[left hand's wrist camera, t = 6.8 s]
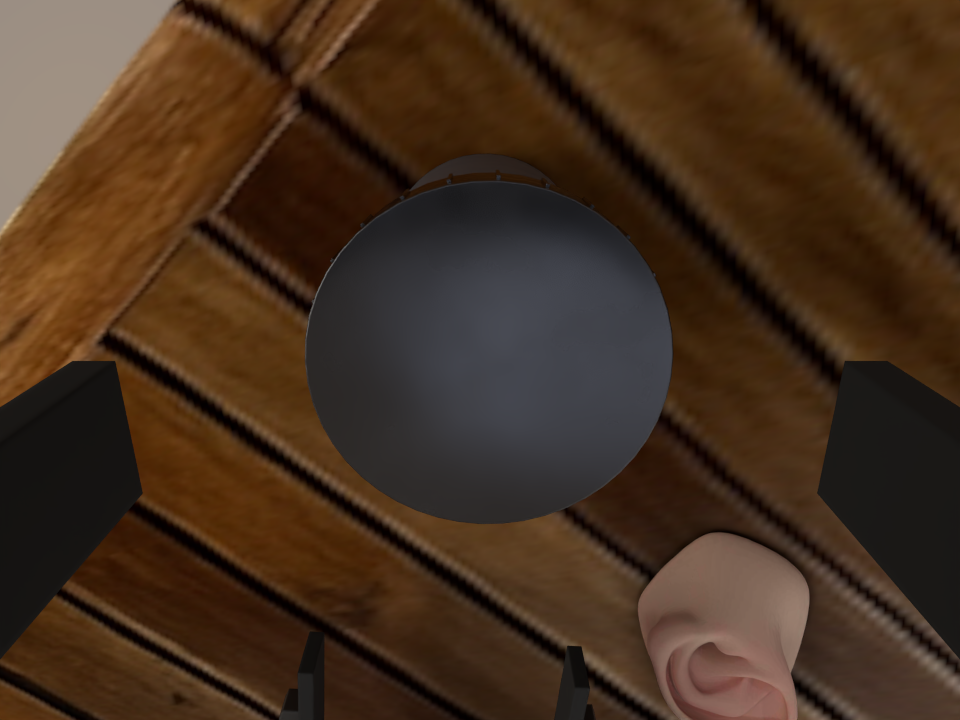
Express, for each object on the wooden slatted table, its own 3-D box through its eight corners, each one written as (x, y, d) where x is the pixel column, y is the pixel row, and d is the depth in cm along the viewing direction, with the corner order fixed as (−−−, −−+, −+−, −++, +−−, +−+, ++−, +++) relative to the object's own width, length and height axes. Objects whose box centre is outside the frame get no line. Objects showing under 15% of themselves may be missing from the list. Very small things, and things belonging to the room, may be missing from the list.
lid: (310, 160, 20) (291, 167, 18) (681, 178, 20) (705, 186, 18) (324, 483, 23) (310, 518, 21) (634, 495, 24) (649, 531, 22)
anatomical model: (687, 562, 37) (884, 599, 37) (668, 520, 40) (847, 554, 41) (616, 737, 41) (793, 766, 42) (605, 684, 45) (767, 712, 46)
